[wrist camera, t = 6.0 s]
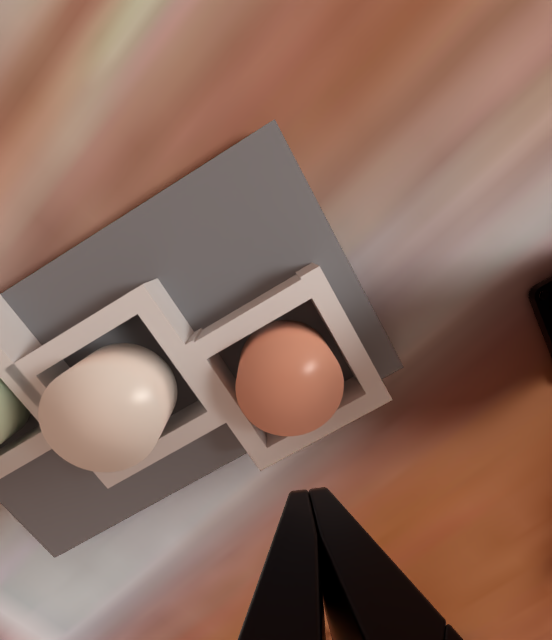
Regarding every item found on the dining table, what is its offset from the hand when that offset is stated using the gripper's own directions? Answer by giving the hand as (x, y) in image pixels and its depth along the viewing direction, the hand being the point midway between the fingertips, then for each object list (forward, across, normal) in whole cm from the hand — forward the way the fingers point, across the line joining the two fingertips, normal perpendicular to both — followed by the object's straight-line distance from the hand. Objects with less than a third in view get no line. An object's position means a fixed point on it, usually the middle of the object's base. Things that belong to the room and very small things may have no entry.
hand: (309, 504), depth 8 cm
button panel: (+11, +7, 0) cm, 13 cm away
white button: (+8, +7, 0) cm, 10 cm away
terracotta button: (+9, 0, 0) cm, 9 cm away
